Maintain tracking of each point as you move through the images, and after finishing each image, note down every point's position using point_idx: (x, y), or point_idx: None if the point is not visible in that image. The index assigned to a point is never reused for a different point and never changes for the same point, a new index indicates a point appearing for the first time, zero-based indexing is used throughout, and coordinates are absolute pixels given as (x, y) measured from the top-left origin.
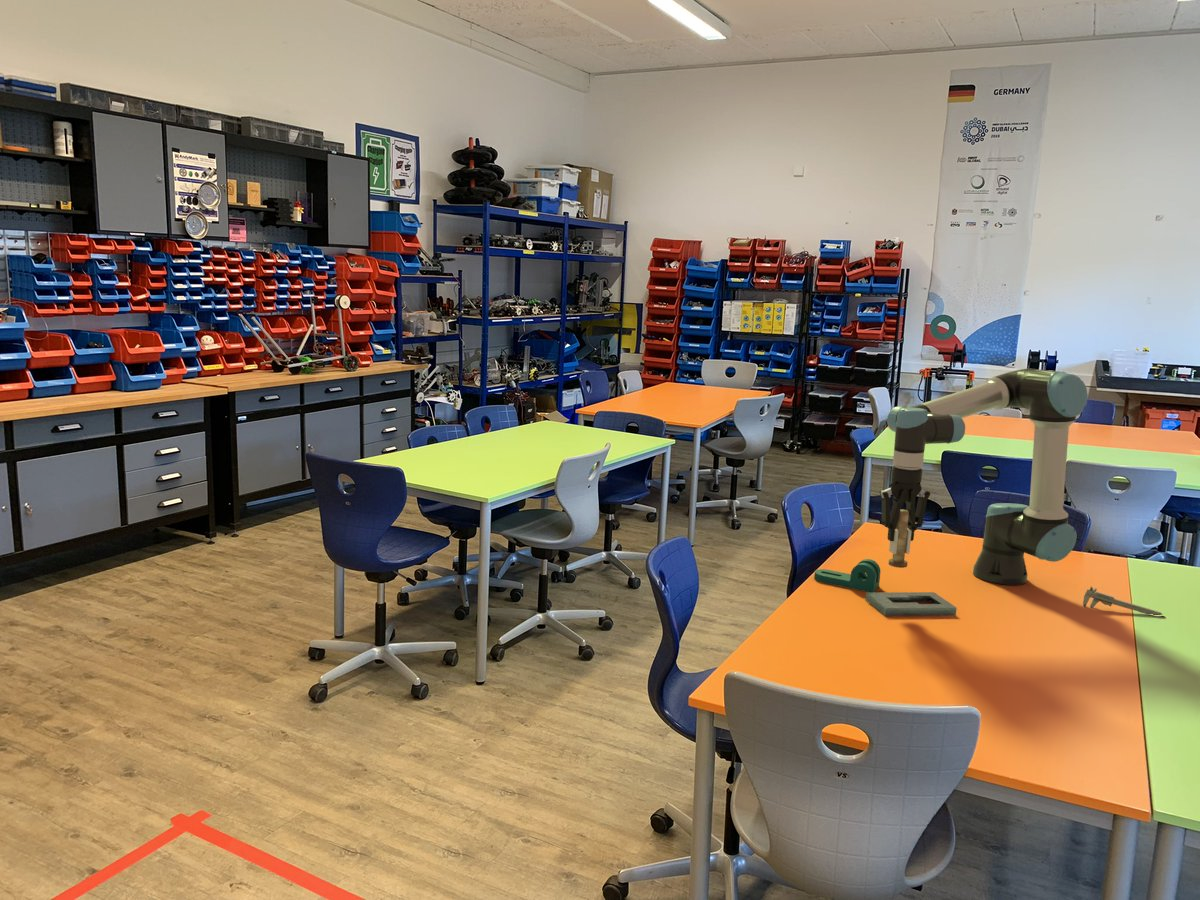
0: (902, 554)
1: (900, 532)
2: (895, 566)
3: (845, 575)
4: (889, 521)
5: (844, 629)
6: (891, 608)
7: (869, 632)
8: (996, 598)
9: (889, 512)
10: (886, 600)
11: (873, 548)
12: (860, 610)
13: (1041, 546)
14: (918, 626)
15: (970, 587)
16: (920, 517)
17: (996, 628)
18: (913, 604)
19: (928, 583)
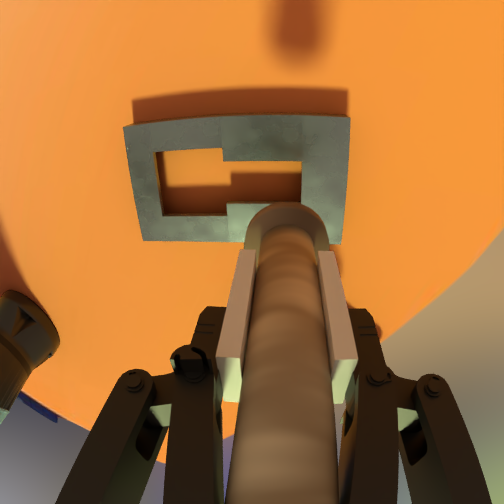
0: (282, 246)
1: (314, 347)
2: (315, 212)
3: None
4: (431, 420)
5: (484, 56)
6: (331, 116)
7: (437, 22)
8: (34, 237)
9: (454, 492)
10: (314, 180)
11: None
12: (392, 163)
13: None
14: (280, 36)
15: (66, 291)
16: (116, 442)
17: (77, 53)
18: (242, 144)
19: (134, 318)
